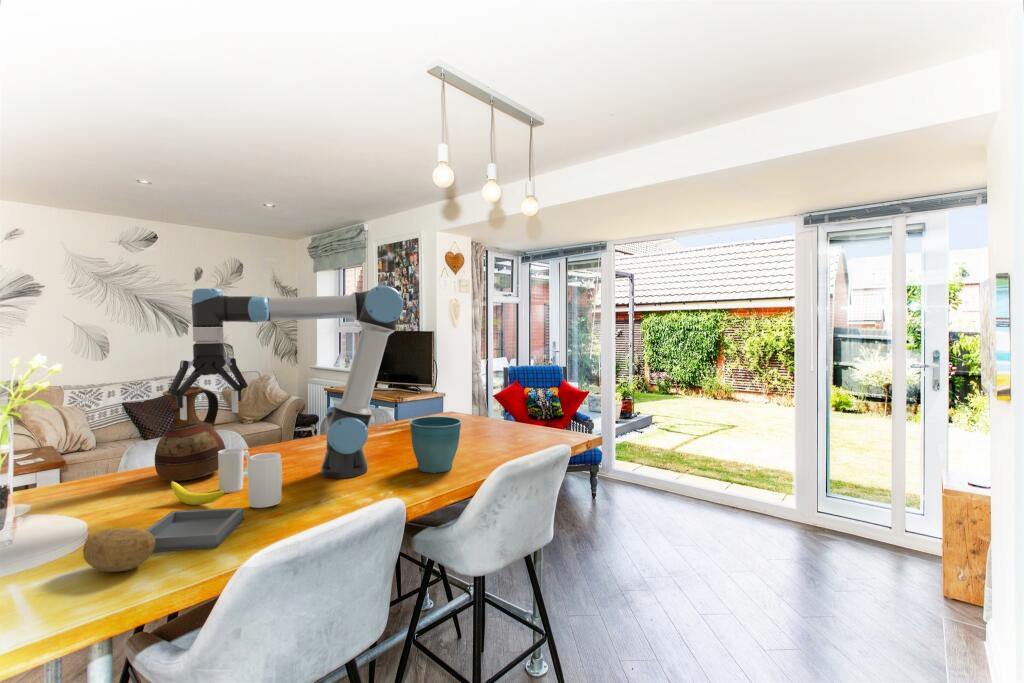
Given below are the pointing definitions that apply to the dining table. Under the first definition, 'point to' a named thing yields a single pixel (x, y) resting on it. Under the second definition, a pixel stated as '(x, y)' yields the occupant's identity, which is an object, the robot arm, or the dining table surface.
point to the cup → (264, 480)
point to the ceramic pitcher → (189, 441)
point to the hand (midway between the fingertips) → (210, 415)
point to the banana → (194, 495)
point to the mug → (232, 469)
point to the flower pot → (435, 442)
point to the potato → (118, 549)
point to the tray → (195, 528)
